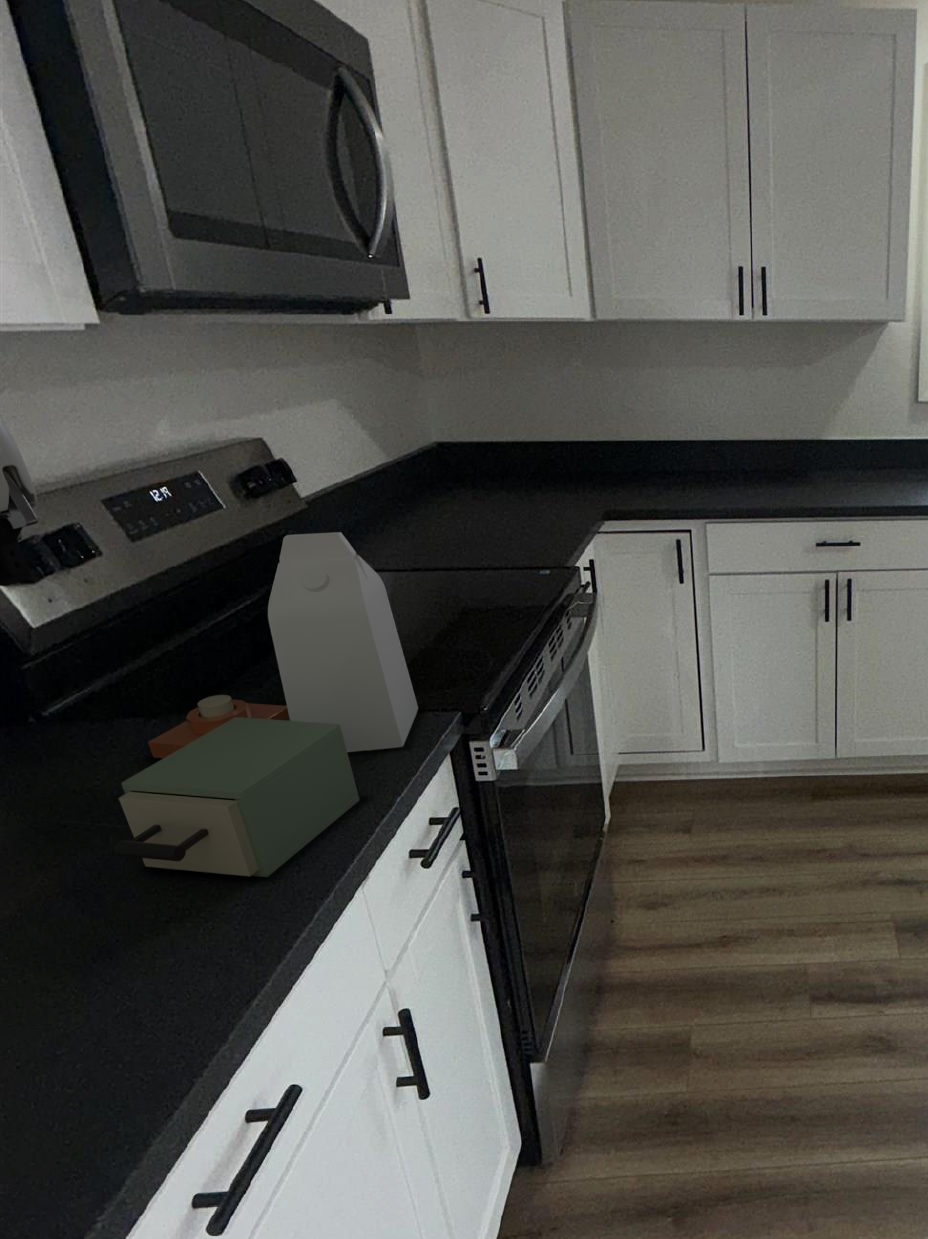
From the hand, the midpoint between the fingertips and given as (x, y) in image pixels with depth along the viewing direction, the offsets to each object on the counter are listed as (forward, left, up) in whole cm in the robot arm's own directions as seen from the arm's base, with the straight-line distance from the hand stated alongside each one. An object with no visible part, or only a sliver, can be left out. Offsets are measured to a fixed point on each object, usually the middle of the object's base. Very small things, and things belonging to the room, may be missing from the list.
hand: (10, 581), depth 90 cm
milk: (+27, +6, -25) cm, 37 cm away
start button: (+11, +10, -21) cm, 26 cm away
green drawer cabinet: (+19, -16, -25) cm, 35 cm away
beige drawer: (+17, -19, -24) cm, 35 cm away
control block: (+11, +10, -25) cm, 29 cm away
